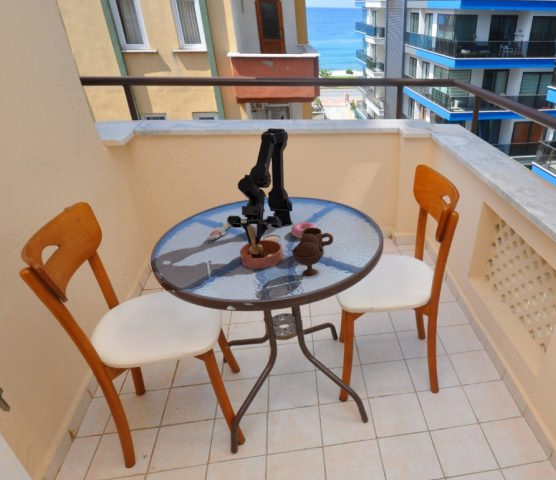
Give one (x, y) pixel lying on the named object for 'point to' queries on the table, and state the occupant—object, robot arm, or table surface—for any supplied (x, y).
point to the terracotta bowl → (266, 262)
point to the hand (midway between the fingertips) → (253, 244)
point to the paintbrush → (218, 232)
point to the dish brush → (255, 248)
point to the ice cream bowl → (308, 253)
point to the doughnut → (301, 228)
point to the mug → (319, 236)
